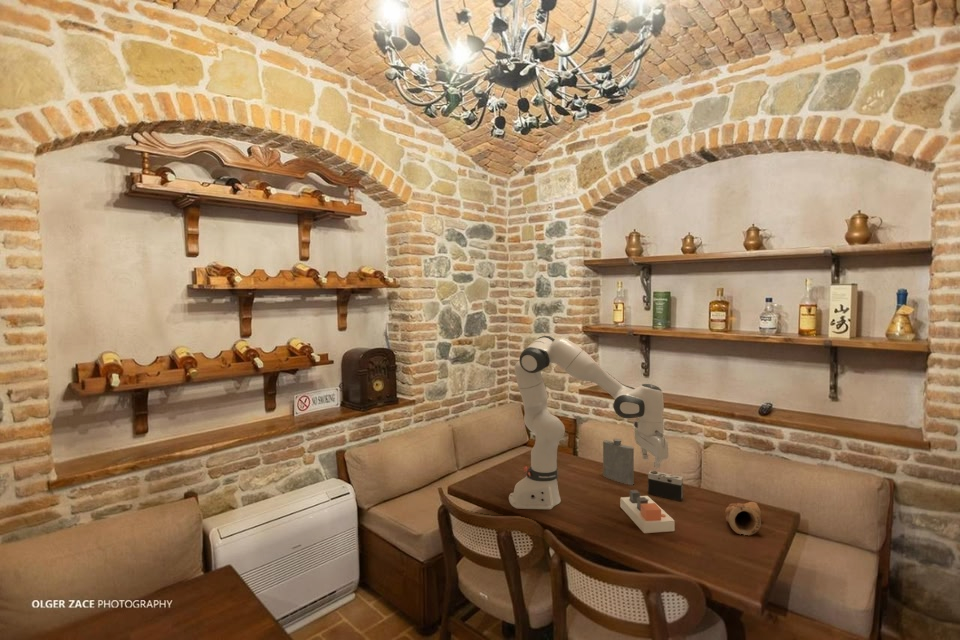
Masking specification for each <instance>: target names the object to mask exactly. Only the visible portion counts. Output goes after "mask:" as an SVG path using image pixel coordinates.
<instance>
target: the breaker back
mask: <svg viewBox="0 0 960 640" xmlns="http://www.w3.org/2000/svg"><path fill="white" fill-rule="evenodd" d="M640 496H641V493H640V492H639V491H638V490H637V489H629V497H630V501H631V502H632V503H637V498H638V497H640Z"/></svg>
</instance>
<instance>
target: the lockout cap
mask: <svg viewBox="0 0 960 640" xmlns="http://www.w3.org/2000/svg"><path fill="white" fill-rule="evenodd" d="M655 503H656V502H655ZM655 503H644V504H641V515H642V516H643V517H644V519H645V520H646V521H652V520H661V509H662V508H661V507H660V506H659V505H658V504H657V503H656V504H657V505H658V506H659V507H660V508H661V509H660V508H659V507H658V506H657V505H656V504H655Z"/></svg>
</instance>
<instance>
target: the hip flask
mask: <svg viewBox="0 0 960 640" xmlns="http://www.w3.org/2000/svg"><path fill="white" fill-rule="evenodd" d="M634 450H635V447H633V446H631V445H626V444H622V439H620V438H614V439H613V440H612V441H611V440H607V439H606V440H603V441H602V456H603V457H602V460H603V461H602V464H603V465H602V466H603V467H602V470H603V471H602V475H603V476H604V477H603V478H605V477H606V479H608V480H610V479H611V481H613V480H614V482H616V481H617V483H619V482H620V484H623V483H624V485H627V484H628V485H627V486H634V485H635V484H634V477H635V475H634V472H635V471H634V469H635V465H634V459H635V458H634V456H635V454H634V453H635V451H634ZM633 484H634V485H633Z"/></svg>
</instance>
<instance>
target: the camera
mask: <svg viewBox="0 0 960 640" xmlns="http://www.w3.org/2000/svg"><path fill="white" fill-rule="evenodd" d="M683 478H684V477H683V476H679V475H674V474H670V473H665V472H660V471H655V470H650V471H649V472H648V475H647V486H648V487H647V494H648V495H651V496H656V497H660V498H664V499H667V500H673V501H677V502H682V500H683V497H684V479H683Z"/></svg>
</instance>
